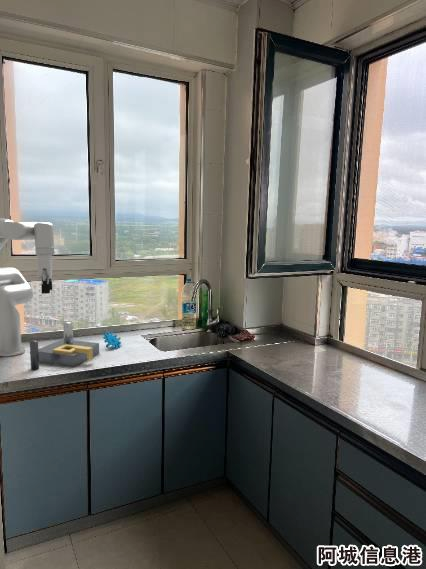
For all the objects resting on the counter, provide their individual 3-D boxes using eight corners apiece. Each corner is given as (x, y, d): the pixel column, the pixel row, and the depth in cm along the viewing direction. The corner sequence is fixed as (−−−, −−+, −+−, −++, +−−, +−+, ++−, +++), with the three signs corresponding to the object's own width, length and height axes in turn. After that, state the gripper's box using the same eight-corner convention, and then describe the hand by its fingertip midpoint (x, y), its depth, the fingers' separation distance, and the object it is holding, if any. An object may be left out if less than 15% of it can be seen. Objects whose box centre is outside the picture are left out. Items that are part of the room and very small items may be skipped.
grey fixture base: (34, 361, 187) (32, 328, 185) (62, 349, 206) (61, 318, 204) (73, 367, 182) (72, 332, 179) (99, 353, 201) (98, 322, 198)
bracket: (52, 358, 186) (52, 347, 185) (65, 352, 195) (65, 342, 194) (85, 362, 182) (84, 351, 181) (96, 356, 190) (96, 345, 189)
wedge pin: (29, 369, 178) (27, 341, 176) (34, 367, 181) (33, 339, 179) (35, 370, 177) (34, 342, 175) (40, 367, 180) (39, 340, 178)
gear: (110, 348, 203) (101, 331, 207) (103, 355, 206) (94, 338, 209) (126, 346, 213) (117, 329, 216) (119, 352, 215) (110, 336, 219)
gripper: (38, 250, 188) (40, 289, 191) (32, 253, 172) (35, 295, 174) (56, 250, 190) (58, 288, 193) (52, 252, 174) (54, 294, 176)
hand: (47, 291), depth 184 cm, fingers open, 9 cm apart
